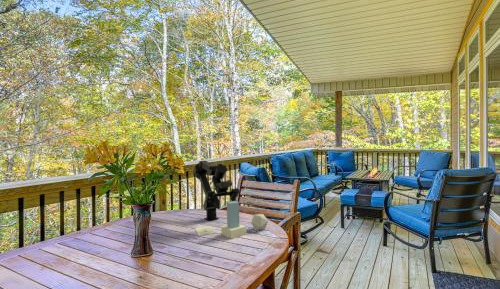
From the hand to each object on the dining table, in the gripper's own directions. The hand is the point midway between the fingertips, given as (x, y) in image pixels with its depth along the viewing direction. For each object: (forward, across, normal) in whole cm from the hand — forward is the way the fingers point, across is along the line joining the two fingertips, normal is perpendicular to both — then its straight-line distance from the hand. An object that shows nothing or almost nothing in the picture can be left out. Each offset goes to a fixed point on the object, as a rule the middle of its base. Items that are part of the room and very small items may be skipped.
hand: (227, 207), depth 155 cm
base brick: (+14, 0, +3) cm, 14 cm away
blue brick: (+11, 0, 0) cm, 11 cm away
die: (+14, +15, +3) cm, 21 cm away
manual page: (+4, -11, +13) cm, 17 cm away
